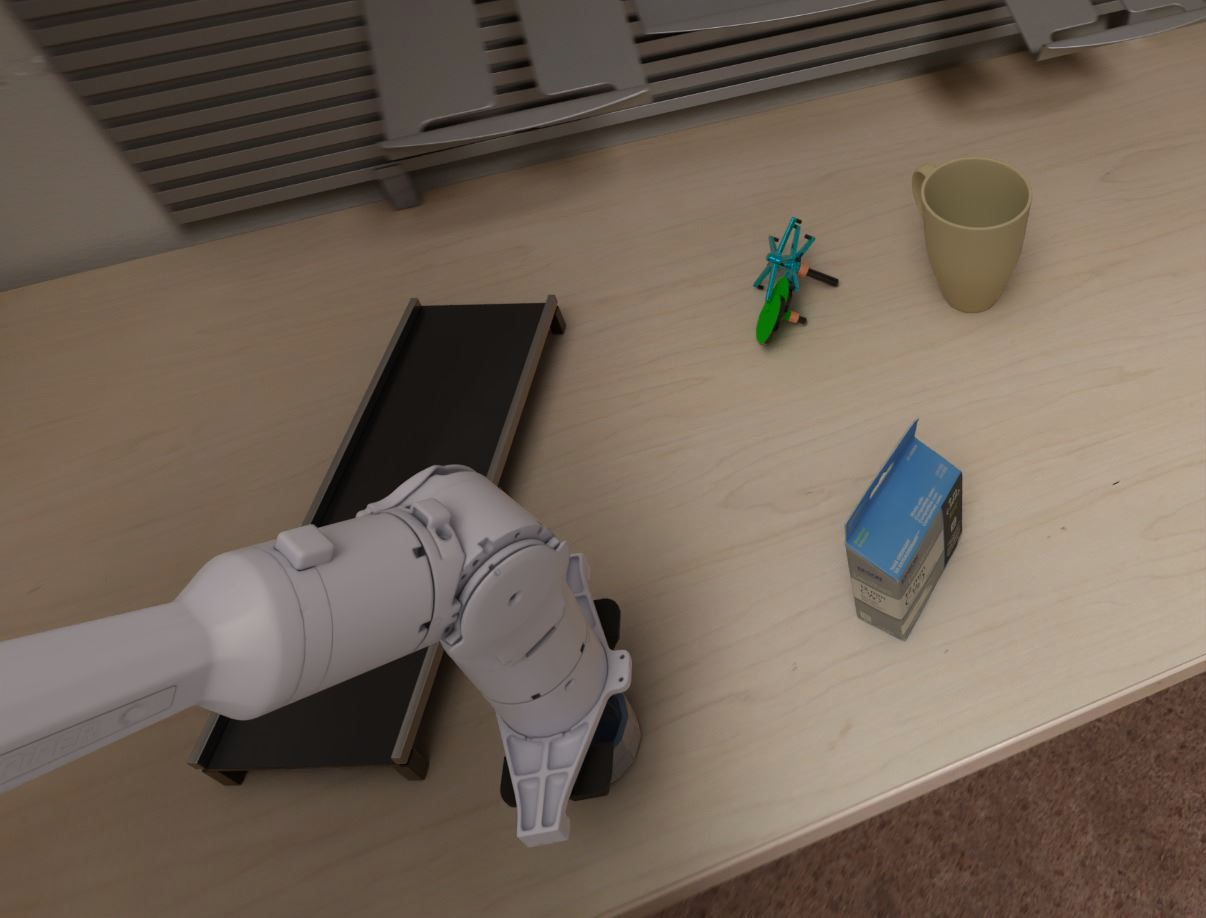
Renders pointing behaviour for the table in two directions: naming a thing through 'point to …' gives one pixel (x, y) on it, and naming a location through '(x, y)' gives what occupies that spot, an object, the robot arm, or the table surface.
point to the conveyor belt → (371, 473)
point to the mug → (972, 226)
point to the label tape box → (903, 535)
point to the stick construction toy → (784, 282)
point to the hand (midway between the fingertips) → (594, 739)
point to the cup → (619, 733)
